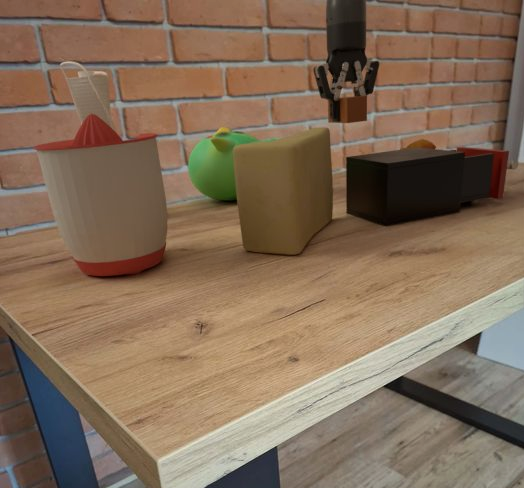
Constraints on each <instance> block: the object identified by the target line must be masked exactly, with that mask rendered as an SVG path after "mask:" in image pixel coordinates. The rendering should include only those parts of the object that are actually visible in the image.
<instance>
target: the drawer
mask: <svg viewBox="0 0 524 488" xmlns="http://www.w3.org/2000/svg"><path fill="white" fill-rule="evenodd" d="M448 151H458V152H465V157H464V158H465V160H464V171H463V181H462V192H461V202H460V204H463V203H469V202H474V201H480V200H485V199H495V200H500V199H504V193H505V185H506V178H507V171H508V170H513V171H514V170H516V169H517V168H518V167H519V162H518V160H514V159H509V155H510V150H505V149H503V150H502V149H491V148H480V147H469V146H458V147H456V149H449V150H448Z"/></svg>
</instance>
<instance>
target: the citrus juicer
mask: <svg viewBox="0 0 524 488" xmlns="http://www.w3.org/2000/svg"><path fill="white" fill-rule="evenodd" d="M116 132H117V131H116ZM116 132H115V131H114V130H113V129H112V128H111V127H110V126H109V125H108V124H107V123H105V122H104V121H103V120H102V119H101V118H99V117H98V116H96V115H95V114H90V115H88V116H87V117H86V119H85V120H84V121H83V123H82V125H81V124H80V126H79V129H78V130H77V132H76V134H75V136H74V138H72V139H66V140H60V141H53V142H47V143H42V144H41V143H40V144H37V145H34V146H33V150H35V151H36V154H37V158H38V163H39V166H40V169H41V173H42V177H43V181H44V185H45V188H46V192H47V196H48V200H49V203H50V207H51V211H52V215H53V218H54V221H55V224H56V228H57V230H58V232H59V235H60V237H61V239H62V242H63V243H64V245H65V247H66V249H67V250H68V252H69V253H70V255H71V259H72V260H73V261H74V263H75V264H76V265H77V267H78V268H79V269H80V271H81V272H82V273H84V274H85V275H87V276H94V277H95V276H96V277H111V276H121V275H137V274H140V273H141V272H142V271H144V270H147V269H150V268H152V267H154V266H156V265H158V264H160V263H161V262H162V261H163V260H164V256H165V252H166V247H167V235H168V207H167V205H168V204H167V198H166V197H167V196H166V190H165V184H164V179H163V173H162V166H161V161H160V154H159V148H158V142H157V137H158V136H159V135H158V134H157V133H155V132H154V133H153V132H145V133H139V134H138V135H136V136H135V138H132V139H124V140H123V139H122V138H121V136H120V135H119V134H118V132H117V133H116Z"/></svg>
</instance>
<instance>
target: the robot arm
mask: <svg viewBox="0 0 524 488" xmlns="http://www.w3.org/2000/svg"><path fill="white" fill-rule="evenodd" d="M325 29H326V30H325V31H326V51H327V58H326V61H325V63H323V64H321V65H317V66H316V65H315V66H314V67H313V69H312V71H313V76H314V79H315V82H316V87H317V89H318V93H319V97H320V98H321V99H323V100H326V101H327V102H328V101H329V103H330V118H331V119H332V121H333V122H339V121H340V101H338V100H339V98H341V97H340V96H341V92H342V89H343V88H344V86H345V83H349V86H350V87H351V89H352V93H353V97H355V96H367V97H368V96H369V95H371V94H374V90H375V85H376V81H377V77H378V72H379V67H380V61H378V60H370V59H368V57H367V55H366V48H367V0H326V5H325ZM363 71H364V72H365V74H364V77H363ZM328 74H330V76H331V78H330V82H329V81H328Z"/></svg>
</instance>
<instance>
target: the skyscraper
mask: <svg viewBox="0 0 524 488" xmlns="http://www.w3.org/2000/svg"><path fill="white" fill-rule="evenodd" d="M64 66H76V67H78V68H80V69H81V70H80V71H77V76H74V77H68V76H67V73H66V71H65V69H64ZM59 68H60V70H61V72H62V74H63V76H64V78H65V81H66V85H67V87H68V90H69V93H70V96H71V98H72V101H73V105H74V107H75V110H76V113H77V116H78V119H79V121H80V126H81V125H82V123H83V121H84V120H85V119H86V117H87V116H88V115H90V114H95V115H96V116H98V117H99V118H101V119H102V120H103V121H104V122H105V123H107V124H108V125H109V126H110V127H111V128H112V129H113V130H114V131H115V132H116V133H117V134H118V131H117V129H116V126H115V123H114V120H113V119H112V115H111V98H110V82H109V74H108V73H107V72H106V71H102V70H98V71H95V70H87V69H86V67H85V66H83V64H81V63H79V62H76V61H63V62H61V63H60V64H59Z"/></svg>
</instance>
